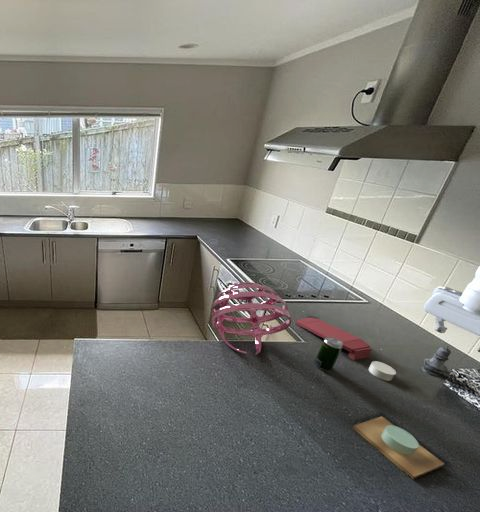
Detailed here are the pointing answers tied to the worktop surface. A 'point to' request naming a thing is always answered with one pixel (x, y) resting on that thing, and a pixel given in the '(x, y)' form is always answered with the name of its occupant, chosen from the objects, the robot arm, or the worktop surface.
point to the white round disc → (382, 370)
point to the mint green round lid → (399, 440)
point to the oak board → (410, 464)
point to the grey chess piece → (437, 362)
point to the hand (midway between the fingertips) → (460, 341)
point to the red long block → (337, 337)
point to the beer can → (328, 353)
